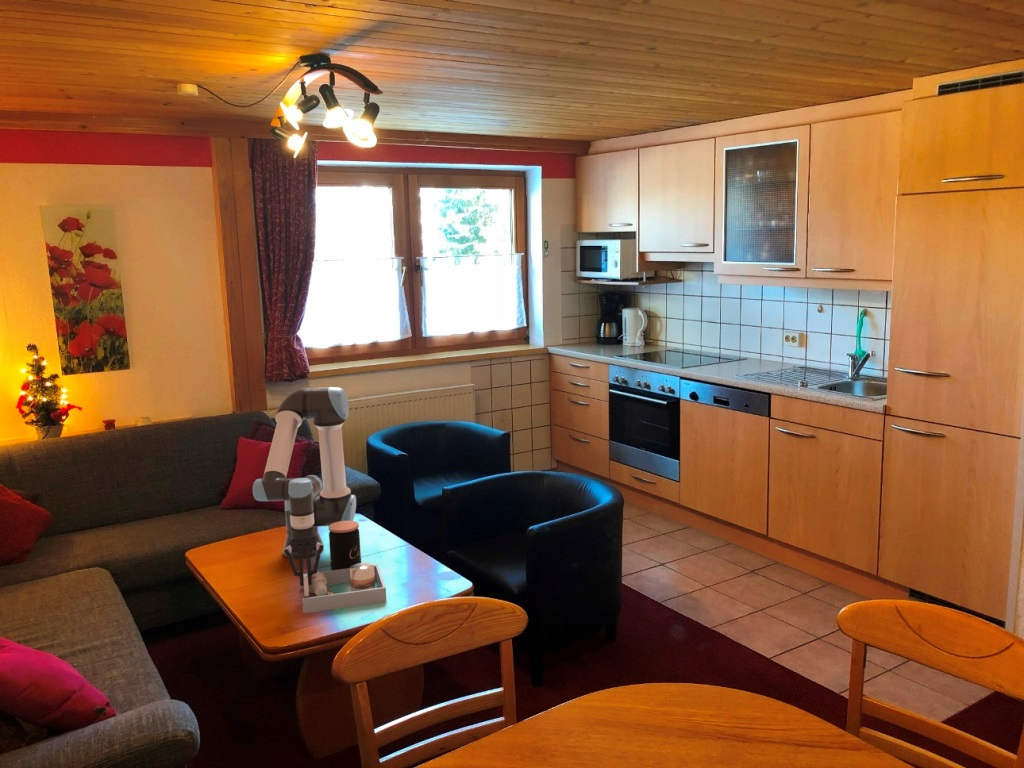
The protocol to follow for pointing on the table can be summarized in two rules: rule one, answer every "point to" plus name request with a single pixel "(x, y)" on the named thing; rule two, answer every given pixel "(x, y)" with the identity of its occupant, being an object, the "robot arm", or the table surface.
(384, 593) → the grey u-shaped low frame
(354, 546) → the coffee jar
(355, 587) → the round glass jar
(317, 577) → the mug
